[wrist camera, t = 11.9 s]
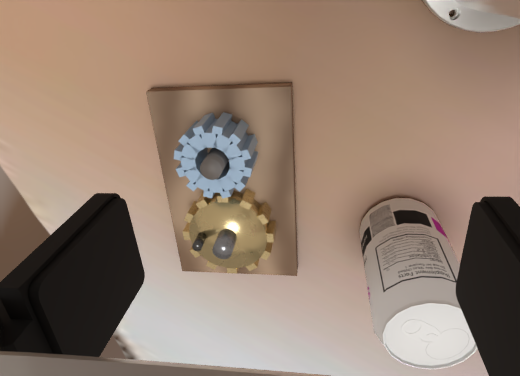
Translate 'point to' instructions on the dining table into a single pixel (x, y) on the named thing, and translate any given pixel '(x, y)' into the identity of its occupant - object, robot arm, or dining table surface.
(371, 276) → the supplement can
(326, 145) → the dining table surface
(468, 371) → the dining table surface
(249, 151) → the blue gear
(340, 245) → the dining table surface
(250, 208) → the brass drive gear
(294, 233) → the gear board
